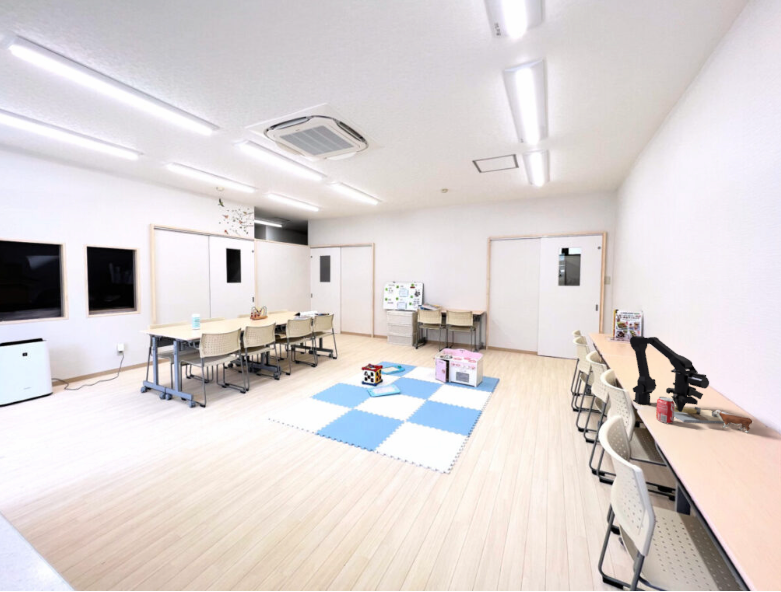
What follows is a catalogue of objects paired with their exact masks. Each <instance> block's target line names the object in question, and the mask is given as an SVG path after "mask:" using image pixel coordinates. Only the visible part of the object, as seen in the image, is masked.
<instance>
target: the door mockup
mask: <svg viewBox="0 0 781 592" xmlns="http://www.w3.org/2000/svg"><path fill="white" fill-rule="evenodd" d="M715 411H716V410H714V411H712V410H711V409H701V412H700V414H694V413H683V412H674V419H677V420H679V421H681V422H683V423H697V424H698V423H700V424H701V423H702V424H703V423H704V424H724V422H722V421H721V420H720V418H719V417H718V416H717V415H716V414H713V412H715ZM730 424H732V423H728V425H730Z"/></svg>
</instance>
